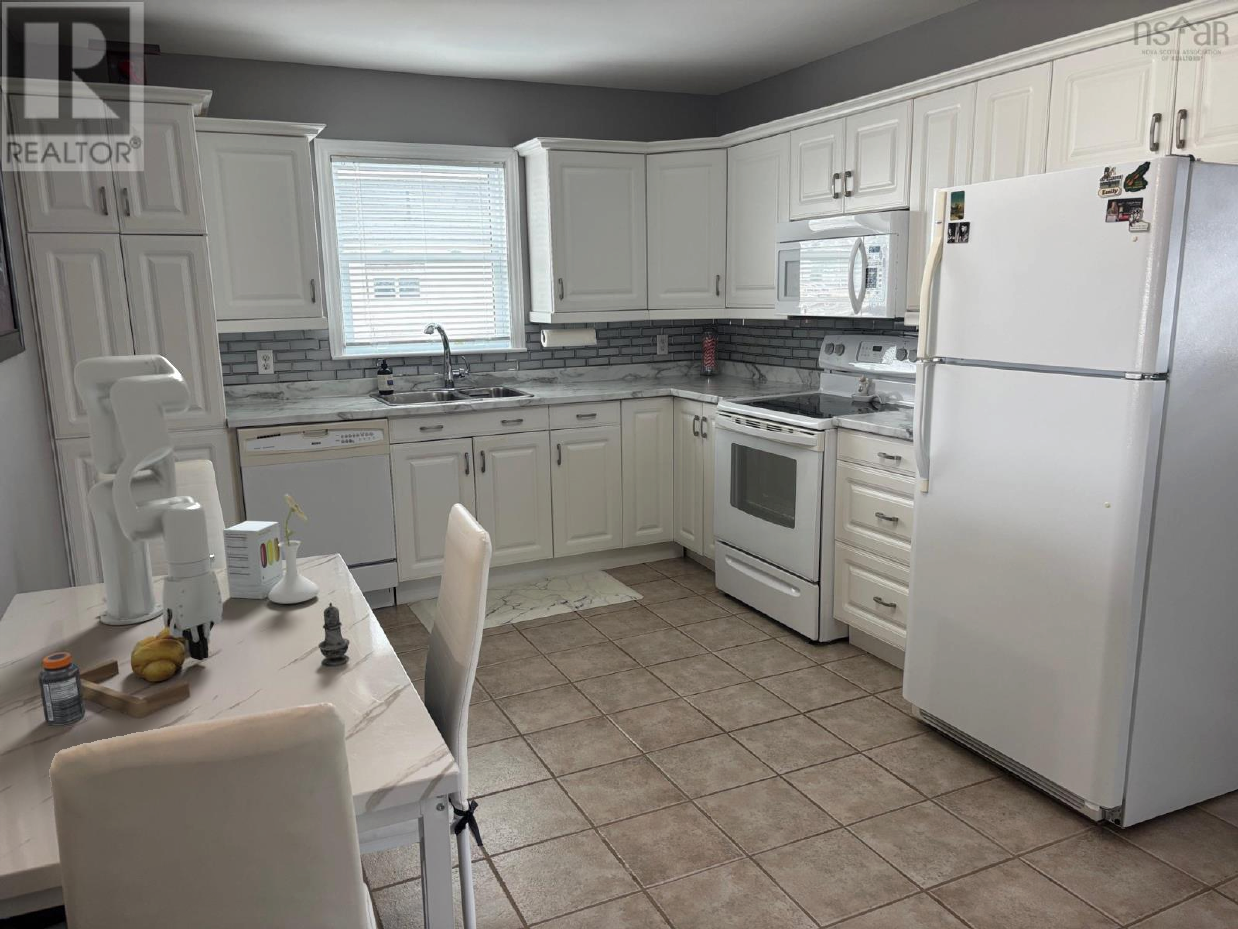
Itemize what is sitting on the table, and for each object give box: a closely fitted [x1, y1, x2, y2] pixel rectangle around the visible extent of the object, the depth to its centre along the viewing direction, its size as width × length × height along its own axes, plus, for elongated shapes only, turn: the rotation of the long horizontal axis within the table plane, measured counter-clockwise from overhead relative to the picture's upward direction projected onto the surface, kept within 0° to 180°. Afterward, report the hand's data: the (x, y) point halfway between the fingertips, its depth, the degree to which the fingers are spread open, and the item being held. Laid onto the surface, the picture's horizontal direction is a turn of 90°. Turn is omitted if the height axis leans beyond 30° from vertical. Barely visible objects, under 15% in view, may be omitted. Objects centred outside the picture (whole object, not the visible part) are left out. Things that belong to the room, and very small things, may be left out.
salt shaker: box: [317, 602, 350, 667], centre depth 174 cm, size 6×6×12 cm
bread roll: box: [130, 627, 186, 682], centre depth 170 cm, size 13×10×8 cm
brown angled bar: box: [79, 659, 191, 719], centre depth 162 cm, size 23×10×2 cm, turn 60°
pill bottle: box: [38, 651, 86, 726], centre depth 152 cm, size 6×6×11 cm
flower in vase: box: [267, 493, 320, 605], centre depth 209 cm, size 13×11×25 cm
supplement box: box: [222, 520, 284, 600], centre depth 215 cm, size 10×9×17 cm
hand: (199, 657), depth 174 cm, fingers closed
